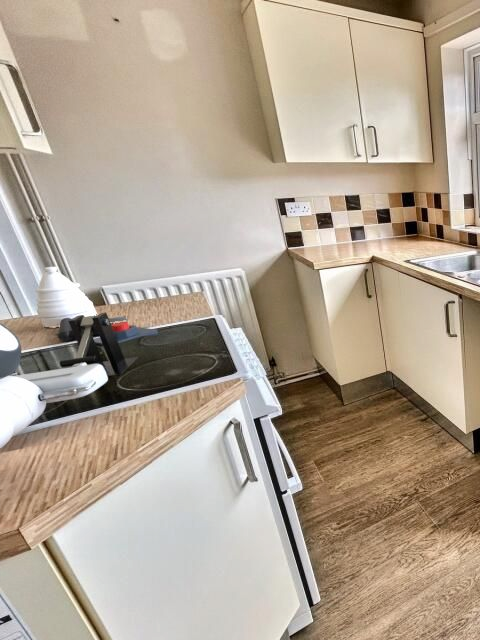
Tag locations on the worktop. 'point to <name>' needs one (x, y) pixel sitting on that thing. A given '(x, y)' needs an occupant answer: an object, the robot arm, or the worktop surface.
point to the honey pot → (60, 299)
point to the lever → (83, 344)
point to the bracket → (109, 342)
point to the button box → (130, 334)
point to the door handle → (67, 333)
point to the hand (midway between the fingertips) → (49, 371)
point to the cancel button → (120, 326)
